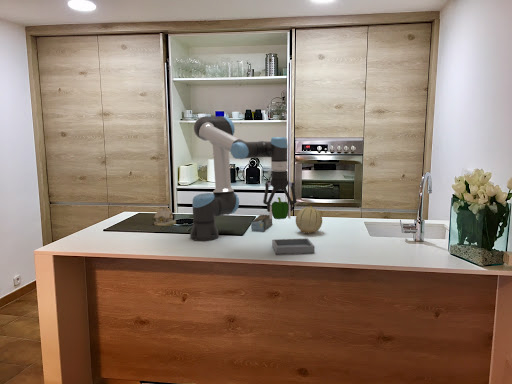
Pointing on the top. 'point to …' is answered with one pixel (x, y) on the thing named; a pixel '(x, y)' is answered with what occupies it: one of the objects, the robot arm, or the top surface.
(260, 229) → the beverage carton
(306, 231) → the cantaloupe
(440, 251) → the top surface
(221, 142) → the robot arm
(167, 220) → the ceramic model
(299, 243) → the tray
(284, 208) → the bell pepper
